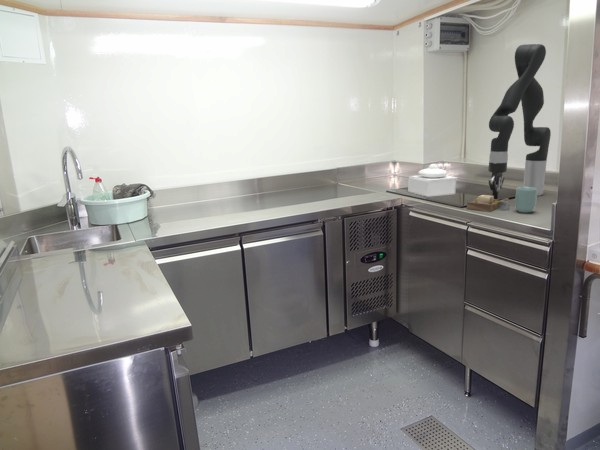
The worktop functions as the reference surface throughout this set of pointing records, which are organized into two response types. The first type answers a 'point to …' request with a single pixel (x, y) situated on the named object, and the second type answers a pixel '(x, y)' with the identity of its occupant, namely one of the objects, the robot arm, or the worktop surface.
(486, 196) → the block
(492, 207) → the beam rails
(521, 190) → the cup
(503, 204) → the block
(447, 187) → the butter dish
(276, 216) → the worktop surface
